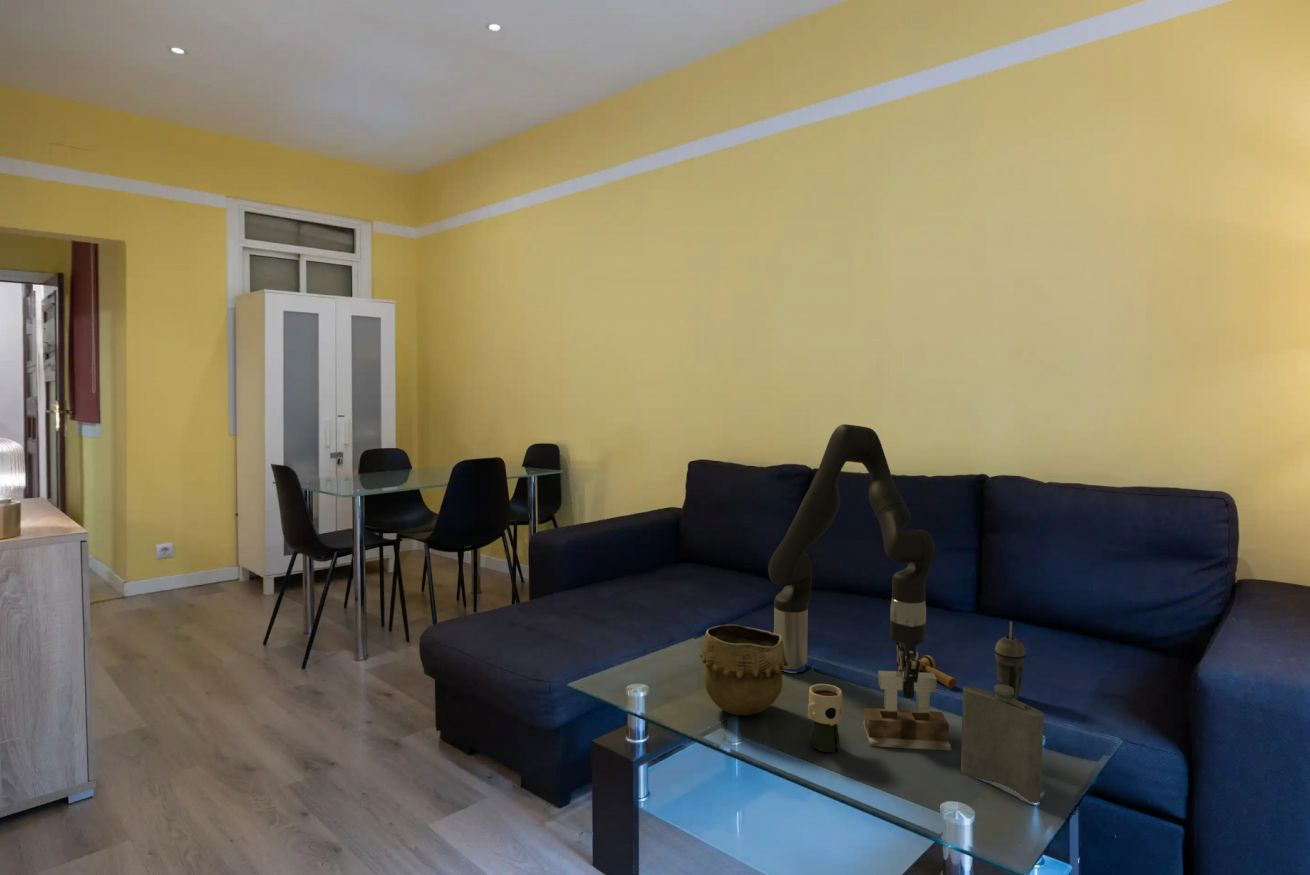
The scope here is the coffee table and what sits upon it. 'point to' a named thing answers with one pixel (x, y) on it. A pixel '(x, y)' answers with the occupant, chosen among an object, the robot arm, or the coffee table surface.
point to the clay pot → (743, 668)
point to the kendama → (935, 671)
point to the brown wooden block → (907, 729)
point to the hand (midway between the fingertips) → (906, 693)
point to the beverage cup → (1010, 662)
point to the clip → (894, 682)
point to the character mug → (825, 716)
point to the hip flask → (1002, 740)
